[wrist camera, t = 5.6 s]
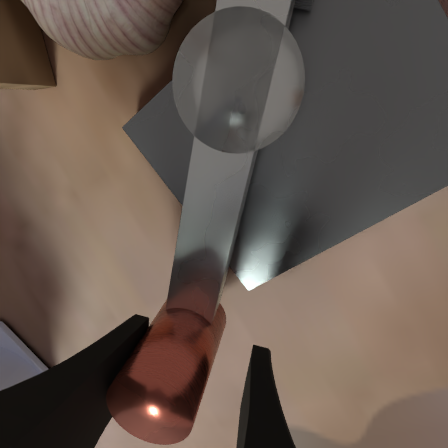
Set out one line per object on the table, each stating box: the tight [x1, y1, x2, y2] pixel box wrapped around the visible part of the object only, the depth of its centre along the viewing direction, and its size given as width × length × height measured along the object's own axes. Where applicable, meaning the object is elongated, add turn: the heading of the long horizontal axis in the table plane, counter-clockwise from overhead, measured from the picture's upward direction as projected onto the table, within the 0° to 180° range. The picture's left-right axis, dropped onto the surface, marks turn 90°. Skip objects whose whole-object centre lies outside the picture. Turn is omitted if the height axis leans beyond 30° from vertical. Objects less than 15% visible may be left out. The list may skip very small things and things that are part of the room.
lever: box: [106, 0, 313, 445], centre depth 10 cm, size 16×4×6 cm, turn 168°
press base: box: [122, 0, 448, 291], centre depth 12 cm, size 11×9×2 cm
